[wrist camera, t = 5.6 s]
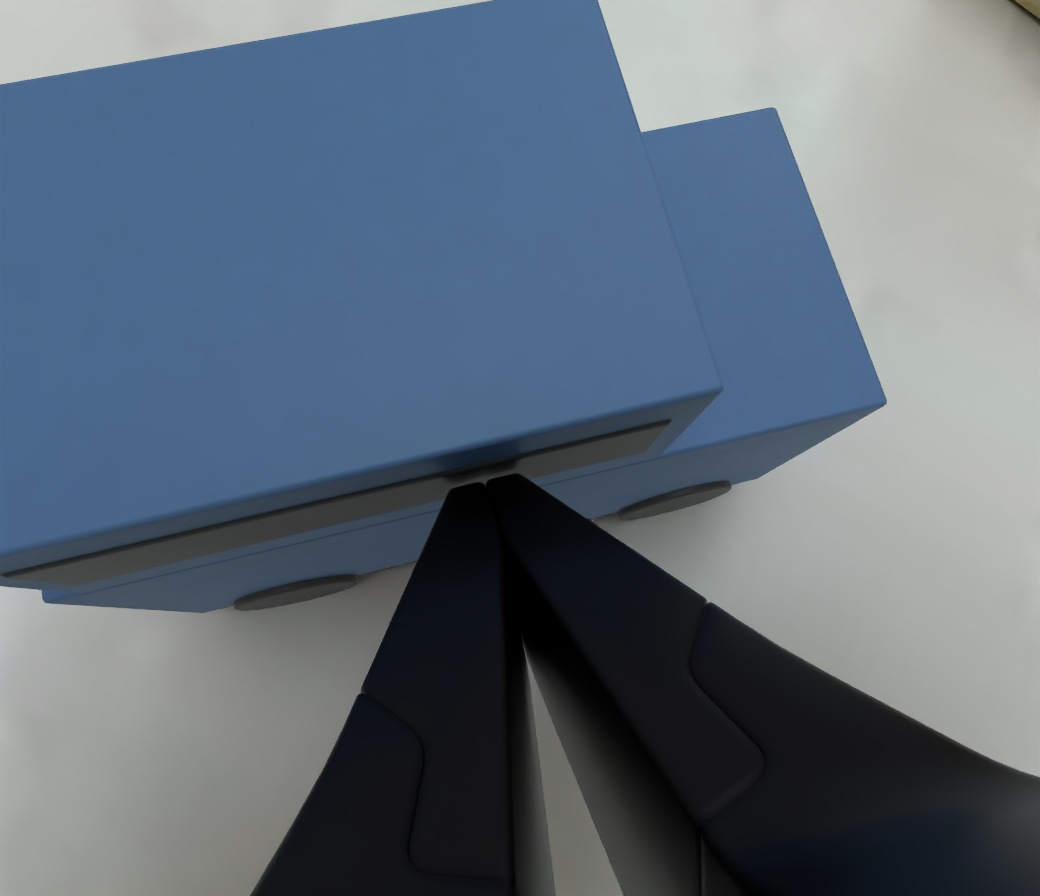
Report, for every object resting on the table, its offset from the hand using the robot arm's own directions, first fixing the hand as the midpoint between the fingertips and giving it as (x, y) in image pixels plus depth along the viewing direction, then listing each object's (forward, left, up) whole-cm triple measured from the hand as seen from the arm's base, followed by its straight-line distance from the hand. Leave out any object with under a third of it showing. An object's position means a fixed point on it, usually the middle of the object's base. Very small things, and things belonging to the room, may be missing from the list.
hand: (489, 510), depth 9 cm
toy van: (+3, +1, -8) cm, 8 cm away
